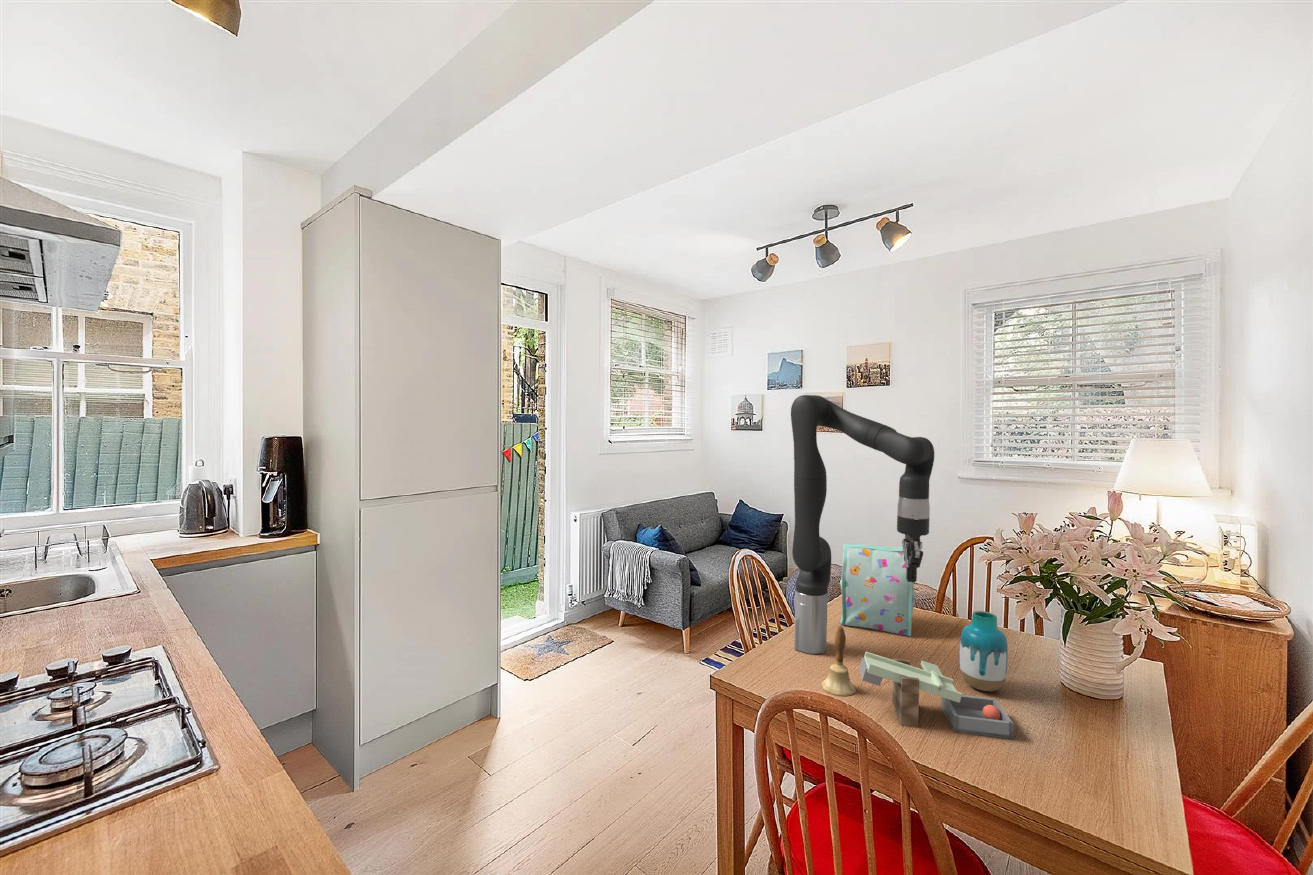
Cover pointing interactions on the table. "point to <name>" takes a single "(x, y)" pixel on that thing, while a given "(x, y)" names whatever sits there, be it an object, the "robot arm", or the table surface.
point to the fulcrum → (906, 698)
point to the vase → (983, 653)
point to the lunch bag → (876, 589)
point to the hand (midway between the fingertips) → (911, 581)
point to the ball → (991, 712)
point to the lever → (908, 675)
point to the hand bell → (839, 670)
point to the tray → (976, 717)
